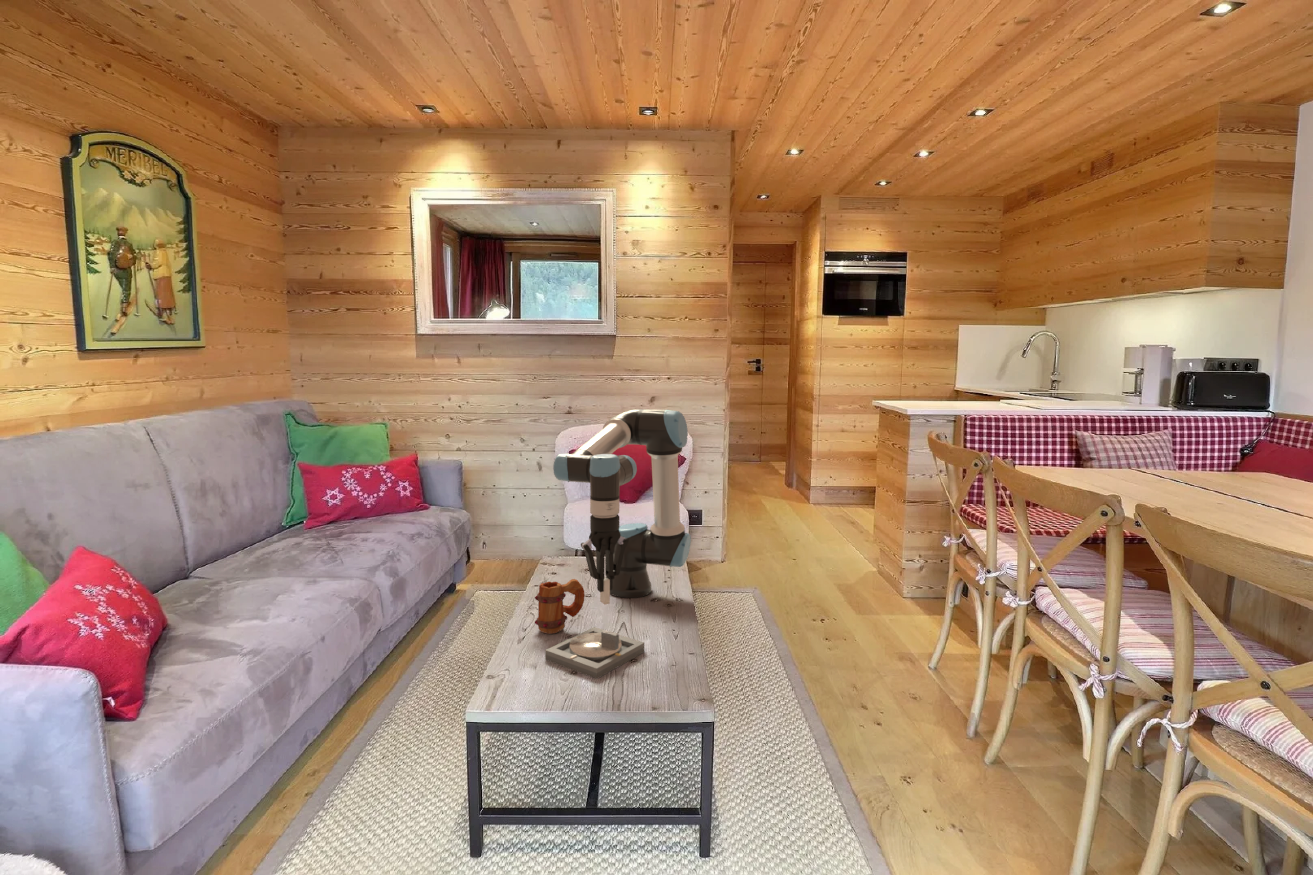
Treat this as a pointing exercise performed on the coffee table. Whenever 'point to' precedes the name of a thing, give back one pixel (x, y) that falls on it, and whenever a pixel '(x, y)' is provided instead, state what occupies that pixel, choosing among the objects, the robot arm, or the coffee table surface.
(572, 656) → the board
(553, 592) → the mug
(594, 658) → the dial
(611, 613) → the coffee table surface
